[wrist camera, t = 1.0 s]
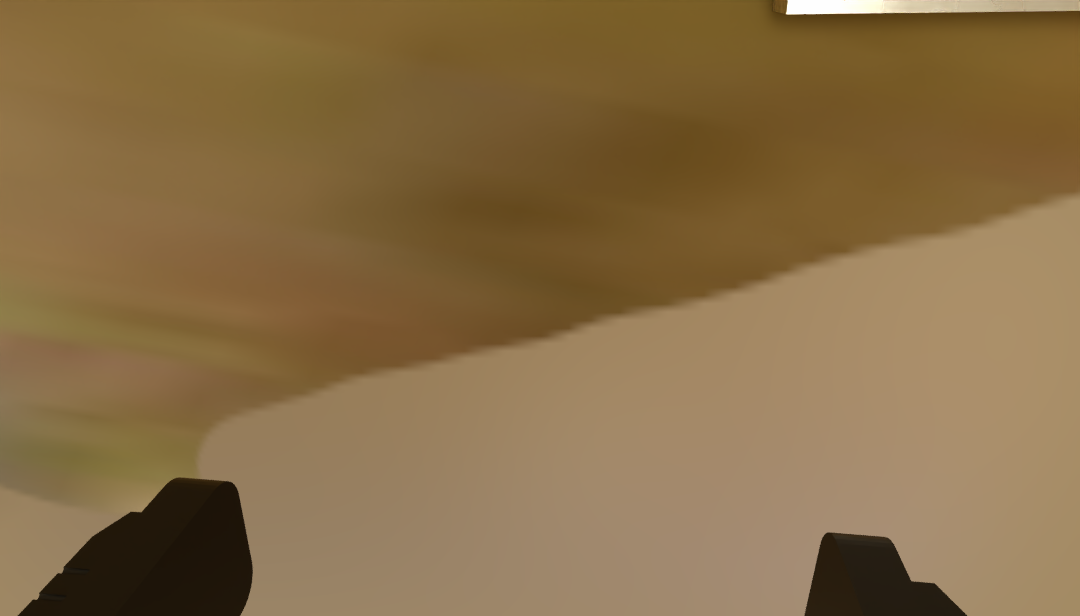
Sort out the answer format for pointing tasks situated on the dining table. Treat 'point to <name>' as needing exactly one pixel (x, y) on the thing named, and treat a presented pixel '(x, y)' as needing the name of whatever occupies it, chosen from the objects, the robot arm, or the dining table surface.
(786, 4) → the levelling base
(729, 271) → the dining table surface
